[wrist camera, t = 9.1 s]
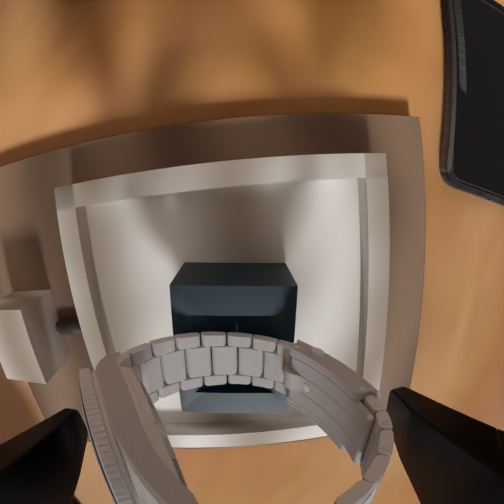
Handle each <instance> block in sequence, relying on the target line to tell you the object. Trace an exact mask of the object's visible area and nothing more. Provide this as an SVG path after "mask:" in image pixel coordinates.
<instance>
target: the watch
mask: <svg viewBox="0 0 504 504" xmlns="http://www.w3.org/2000/svg"><path fill="white" fill-rule="evenodd" d="M297 292H298V285H297V283H296V282H295V280H294V278H293V276H292V274H291V272H290V270H289V268H288V267H287V265H286V263H207V262H184V264H183V265H182V267H181V268H180V270H179V271H178V273H177V274H176V276H175V277H174V279H173V280H172V282H171V283H170V301H171V314H172V327H173V336H168V337H163V338H159V339H155V340H152V341H150V342H149V343H150V344H149V343H144V344H141V345H138V346H136V347H133V348H131V349H129V350H127V351H126V352H127V353H126V352H124V353H122V354H121V353H120V352H116V353H111V354H107V355H106V356H105V357H103V358H102V359H101V360H100V361H99V362H98V364H97V366H96V368H95V371H90V369H89V368H84V369H80V370H79V386H80V396H81V402H82V408H83V413H84V417H85V421H86V425H87V429H88V433H89V436H90V440H91V443H92V446H93V450H94V453H95V456H96V459H97V461H98V464H99V467H100V470H101V472H102V475H103V477H104V480H105V482H106V485H107V487H108V490H109V492H110V494H111V496H112V499H113V501H114V503H115V504H199V503H198V502H197V500H196V498H195V496H194V495H193V493H192V492H191V491H189V490H188V488H187V485H186V482H185V480H184V477H183V474H182V472H181V469H180V466H179V464H178V461H177V459H176V456H175V454H174V451H173V449H172V446H171V444H170V441H169V439H168V437H167V434H166V432H165V429H164V427H163V425H162V422H161V420H160V418H159V415H158V413H157V411H156V409H155V406H154V404H153V403H155V402H157V401H158V400H159V397H160V398H165V397H167V396H170V395H172V394H175V393H177V392H179V393H180V401H181V409H182V412H200V413H283V412H288V406H289V405H291V406H292V407H294V408H295V409H297V410H298V411H300V412H301V413H302V414H304V415H305V416H306V417H308V418H309V419H310V420H312V421H313V422H314V423H315V424H316V425H317V426H319V427H320V428H321V429H322V430H323V431H324V432H325V433H326V434H327V435H328V436H329V437H330V438H331V440H332V441H333V442H334V443H335V444H336V445H337V446H338V448H339V449H340V450H342V451H347V452H348V453H349V455H350V457H351V459H352V461H353V462H354V463H360V467H361V474H362V477H363V479H362V480H361V481H358V482H356V483H355V484H354V485H353V486H352V487H351V488H350V489H348V490H347V491H346V492H345V493H343V494H342V495H340V496H339V497H337V499H336V500H335V503H334V504H370V502H371V500H372V498H373V496H374V494H375V492H376V490H377V488H378V485H379V483H380V481H381V479H382V477H383V475H384V472H385V470H386V468H387V465H388V463H389V461H390V456H391V454H392V450H393V444H394V434H393V431H392V428H393V426H392V422H391V419H390V417H389V415H388V413H387V411H385V407H384V405H383V404H382V403H381V393H380V392H379V391H378V390H377V389H375V388H374V387H373V386H372V385H371V384H370V383H369V382H367V381H366V380H365V379H364V378H362V377H361V376H360V375H359V374H357V373H356V372H355V371H353V370H352V369H351V368H349V367H348V366H346V365H345V364H343V363H342V362H340V361H339V360H337V359H335V358H334V357H332V356H330V355H328V354H326V353H325V352H324V351H323V350H322V349H320V348H315V347H313V346H311V345H309V344H307V343H305V342H303V341H300V340H297V343H295V344H294V337H295V323H296V308H297Z"/></svg>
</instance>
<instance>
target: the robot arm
mask: <svg viewBox="0 0 504 504" xmlns="http://www.w3.org/2000/svg"><path fill="white" fill-rule="evenodd" d="M386 411H387V413H388V415H389V417H390V419H391V422H392V426H393V428H392V431H393V434H394V441H395V445H396V448H397V451H398V454H399V457H400V459H401V462H402V464H403V466H404V468H405V470H406V473H407V475H408V477H409V479H410V481H411V483H412V486H413V488H414V490H415V492H416V494H417V497H418V499H419V501H420V503H421V504H504V431H502V430H500V429H498V430H497V429H496V428H495V427H492V426H490V425H488V424H485V423H483V422H481V421H478V420H476V419H474V418H472V417H469V416H467V415H465V414H463V413H460V412H458V411H456V410H454V409H452V408H449V407H447V406H445V405H443V404H441V403H438V402H436V401H434V400H432V399H430V398H428V397H426V396H423V395H421V394H419V393H417V392H415V391H413V390H411V389H409V388H407V387H404V386H403V387H398V388H394V389H392V390H391V391H390V393H389V397H388V403H387V409H386ZM87 438H88V430H87V427H86V425H85V423H84V421H83V419H82V417H81V414H80V412H79V411H78V410H76V409H71V408H65V409H63V410H61V411H59V412H58V413H56V414H54V415H52V416H51V417H49V418H47V419H45V420H44V421H42V422H40V423H38V424H37V425H35V426H33V427H31V428H30V429H28V430H26V431H24V432H22V433H21V434H19V435H17V436H15V437H13V438H12V439H10V440H8V441H6V442H4V443H3V444H1V445H0V504H77V503H76V502H75V501H74V500H73V496H74V492H75V489H76V486H77V483H78V479H79V476H80V472H81V467H82V462H83V457H84V452H85V448H86V443H87Z"/></svg>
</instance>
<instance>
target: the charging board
mask: <svg viewBox="0 0 504 504" xmlns="http://www.w3.org/2000/svg"><path fill="white" fill-rule="evenodd" d="M425 240H426V205H425V178H424V161H423V149H422V138H421V129H420V120H419V117H413V116H399V115H382V114H349V113H318V114H285V115H266V116H252V117H240V118H229V119H219V120H210V121H201V122H193V123H186V124H179V125H172V126H166V127H159V128H153V129H147V130H142V131H136V132H131V133H126V134H121V135H116V136H111V137H107V138H102V139H98V140H93V141H89V142H85V143H81V144H77V145H73V146H69V147H65V148H61V149H57V150H54V151H50V152H47V153H43V154H40V155H36V156H33V157H30V158H26V159H23V160H20V161H17V162H14V163H11V164H8V165H5V166H2V167H0V363H1V365H2V368H3V370H4V372H5V375H6V377H7V379H13V380H20V381H27V382H28V384H29V386H30V388H31V390H32V393H33V395H34V397H35V399H36V401H37V403H38V406H39V408H40V410H41V412H42V414H43V416H44V418H45V419H47V418H49V417H51V416H52V415H54V414H56V413H58V412H59V411H61V410H63V409H65V408H71V409H76V410H78V411H79V412H80V414H81V417H82V419H83V421H84V423H85V425H86V421H85V417H84V413H83V408H82V402H81V396H80V386H79V370H80V369H84V368H89V369H90V371H95V368H96V366H97V364H98V362H99V361H100V360H101V359H102V358H103V357H105V356H106V355H107V354H111V353H116V352H120V353H121V354H122V353H124V352H126V351H127V350H129V349H131V348H133V347H136V346H138V345H141V344H144V343H149V342H150V341H152V340H155V339H159V338H163V337H168V336H173V327H172V314H171V301H170V283H171V282H172V280H173V279H174V277H175V276H176V274H177V273H178V271H179V270H180V268H181V267H182V265H183V264H184V262H207V263H286V265H287V267H288V268H289V270H290V272H291V274H292V276H293V278H294V280H295V282H296V283H297V285H298V292H297V308H296V323H295V337H294V344H295V343H297V340H300V341H303V342H305V343H307V344H309V345H311V346H313V347H315V348H320V349H322V350H323V351H324V352H325V353H326V354H328V355H330V356H332V357H334V358H335V359H337V360H339V361H340V362H342V363H343V364H345V365H346V366H348V367H349V368H351V369H352V370H353V371H355V372H356V373H357V374H359V375H360V376H361V377H362V378H364V379H365V380H366V381H367V382H369V383H370V384H371V385H372V386H373V387H374V388H375V389H377V390H378V391H379V392H380V393H381V403H382V404H383V405H384V407H385V411H386V409H387V403H388V397H389V393H390V391H391V390H392V389H394V388H398V387H403V386H404V387H407V388H409V389H410V384H411V379H412V373H413V367H414V361H415V355H416V348H417V341H418V334H419V326H420V317H421V308H422V297H423V284H424V268H425ZM149 344H150V343H149ZM126 353H127V352H126ZM153 404H154V406H155V409H156V411H157V413H158V415H159V418H160V420H161V422H162V425H163V427H164V429H165V432H166V434H167V437H168V439H169V441H170V444H171V446H172V448H186V449H198V448H231V447H248V446H260V445H271V444H280V443H288V442H296V441H303V440H310V439H316V438H322V437H328V435H327V434H326V433H325V432H324V431H323V430H322V429H321V428H320V427H319V426H317V425H316V424H315V423H314V422H313V421H312V420H310V419H309V418H308V417H306V416H305V415H304V414H302V413H301V412H300V411H298V410H297V409H295V408H294V407H292V406H291V405H289V406H288V412H283V413H200V412H182V409H181V401H180V393H179V392H177V393H175V394H172V395H170V396H167V397H165V398H160V397H159V400H158V401H157V402H155V403H153ZM86 427H87V425H86ZM87 430H88V429H87ZM87 441H89V442H91V440H90V436H89V433H88V438H87Z"/></svg>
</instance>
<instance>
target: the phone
mask: <svg viewBox="0 0 504 504" xmlns="http://www.w3.org/2000/svg"><path fill="white" fill-rule="evenodd" d="M442 8H443V21H444V38H445V102H444V120H443V133H442V144H441V154H440V173H441V176H442V178H443V180H444V182H445V183H446V184H447V185H448V186H450V187H452V188H454V189H457V190H460V191H462V190H463V192H466V193H469V194H472V195H475V196H478V197H481V198H483V199H486V200H489V201H492V202H494V203H497V204H500V205H502V206H504V7H503V6H501V5H500V4H499V3H497V2H496V1H494V0H442Z"/></svg>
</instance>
